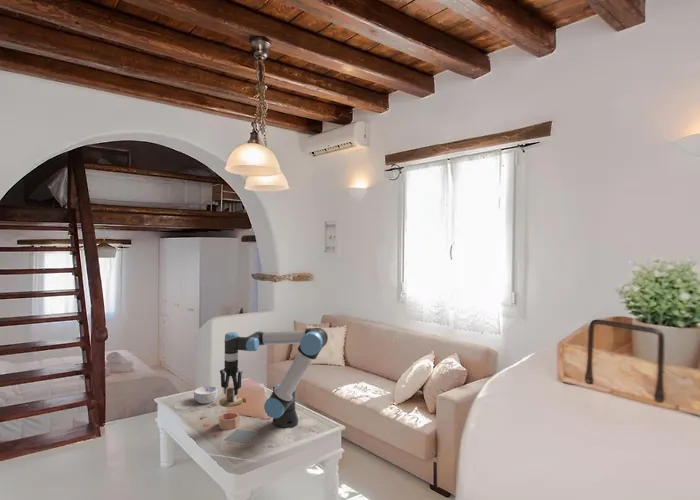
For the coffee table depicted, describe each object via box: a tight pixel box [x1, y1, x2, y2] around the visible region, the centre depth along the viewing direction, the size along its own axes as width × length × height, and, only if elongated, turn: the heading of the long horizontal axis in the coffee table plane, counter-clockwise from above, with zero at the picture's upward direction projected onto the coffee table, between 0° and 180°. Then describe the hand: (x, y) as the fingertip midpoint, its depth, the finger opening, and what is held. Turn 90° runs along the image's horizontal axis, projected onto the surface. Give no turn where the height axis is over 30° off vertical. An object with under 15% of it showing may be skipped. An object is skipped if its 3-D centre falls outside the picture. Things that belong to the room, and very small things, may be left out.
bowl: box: [218, 411, 240, 431], centre depth 251 cm, size 11×11×6 cm
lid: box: [218, 387, 244, 408], centre depth 248 cm, size 13×13×8 cm
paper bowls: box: [193, 385, 218, 405], centre depth 290 cm, size 15×15×8 cm
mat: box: [223, 428, 260, 444], centre depth 238 cm, size 14×14×1 cm
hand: (230, 399), depth 248 cm, fingers closed on lid, 4 cm apart
